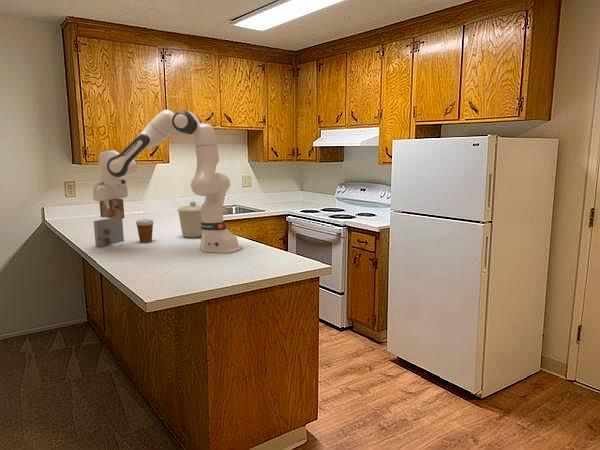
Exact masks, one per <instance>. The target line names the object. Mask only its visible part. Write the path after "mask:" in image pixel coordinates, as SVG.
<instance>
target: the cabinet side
mask: <svg viewBox="0 0 600 450" xmlns="http://www.w3.org/2000/svg"><path fill="white" fill-rule="evenodd" d="M123 223H124V221H123V218H122V219H117V218H103V219H96V220H93V228H94V229H93V232H94V242H95V248H100V247H104V246H108V245H109V246H110V245H112V244H116V243H117V244H118V243H121V242H124V241H125V238H124V235H125V234H124V224H123Z"/></svg>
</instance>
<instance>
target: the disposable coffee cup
mask: <svg viewBox="0 0 600 450" xmlns="http://www.w3.org/2000/svg"><path fill="white" fill-rule="evenodd" d="M135 225H136V227H137V233H138V237H139V242H140V243H144V244H147V243H151V242H153V231H154V230H153V229H154V228H153V227H154V220H153V219H147V218H146V219H139V220H136V222H135Z"/></svg>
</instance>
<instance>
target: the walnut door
mask: <svg viewBox="0 0 600 450" xmlns="http://www.w3.org/2000/svg"><path fill="white" fill-rule="evenodd" d="M98 202H99V212H100V214H99V215H100V218H103V219H107V218H117V219H122V220H123V219H125V208H124V206H125V205H124V198H119V199H112V200H109V204H110V205H111V208H110V209H107V206H106V204H105V203H104V201H98Z"/></svg>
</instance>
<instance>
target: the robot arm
mask: <svg viewBox="0 0 600 450" xmlns="http://www.w3.org/2000/svg"><path fill="white" fill-rule="evenodd" d="M174 131H177V132H179V133H182V134H184V135H191V136H192V137H193V139H194V148H195V155H196V169H195V174H194V176H193V178H192V179H191V183H190V188H191V190H192V192H193V194H195V195H197V196H200V197H204V202H203V204H202V205H201V206H202V207H201V218H202V222H201V231H202V237H200V239H201V240H200V245H199V250H200V251H201V252H203V253H219V254H220V253H221V254H222V253H223V254H231V253H236V252H238V251H241V250H243V248H244V247H243V245H239V241H238V237H237V236H236V235H235V234H234V233H232V232H231V231H230V230H229V229H228V228H227V226H228V224H229V223H228V222H225V221H224V203H225V197H226V194H227V192H228V191H229V189H230V186H231V180H230V178H229V176H228V175H227V174H225V173H221V172H216V168H217V164H218V163H219V162H220V155H219V147H218V140H217V135H216V132H215V129H214V126H213V125H211V124H209V123H203V122H202V120H201V119H200V117H199V116H198V115H196V114H194V113H193V112H191V111H188V110H178V111H176V112H175V113H174V112H173V111H172V110H170V109H164V110H163V109H162V111H160V112H159V113H158V114H156V116H154V117H152V119H151V120H150V121H149V123H147V125H145V127H144V128H143V129H142V130H141V132H140V133H139V134H138V135H137V137H135V138H134V139H133V140H132V141H131V142H130V143H129V144H128V145H127V146H126V147H125V148H124V149H123V150H122V151H121V152H120V153H119V152H118V151H116V149H106V150H102V151H100V153H99V156H98V157H99V158H98V165H99V167H98V169H99V170H100V175H99V177H100V182H96V183H94V184H93V191H92V198H93V200H94V202H99V201H104V203H105V204H106V206H107V209H110V208H111V205H110V204H109V200H112V199H125V198H128V195H129V192H128V191H129V190H128V186H127V182H128V181H127V180H126V179H124V178H121V177H123V176H130V175H133V174H134V173H136V170H137V168H138V165H137V161H136V160H135V159H136V158H137V157H138V156H139V155H140V154H141V153H142V152H143V151H146V150H147V149H151V148H154V147H157V146H159V145H160V144H162V143H163V142H164V141H165V140H166V139H167V138H168V137H169V136H170V135H171V134H172V133H173V132H174Z"/></svg>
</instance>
